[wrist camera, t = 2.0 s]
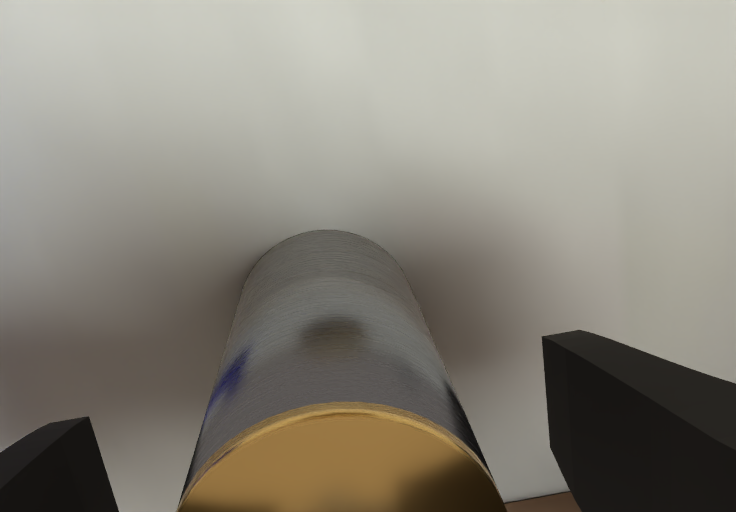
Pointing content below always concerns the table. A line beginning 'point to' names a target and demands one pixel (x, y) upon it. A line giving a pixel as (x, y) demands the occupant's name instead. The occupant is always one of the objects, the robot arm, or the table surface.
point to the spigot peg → (334, 395)
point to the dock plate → (546, 504)
